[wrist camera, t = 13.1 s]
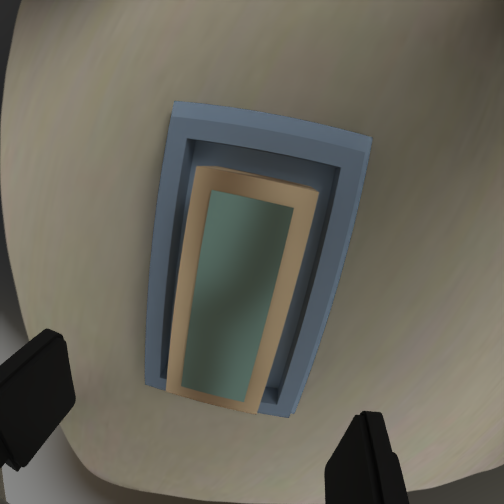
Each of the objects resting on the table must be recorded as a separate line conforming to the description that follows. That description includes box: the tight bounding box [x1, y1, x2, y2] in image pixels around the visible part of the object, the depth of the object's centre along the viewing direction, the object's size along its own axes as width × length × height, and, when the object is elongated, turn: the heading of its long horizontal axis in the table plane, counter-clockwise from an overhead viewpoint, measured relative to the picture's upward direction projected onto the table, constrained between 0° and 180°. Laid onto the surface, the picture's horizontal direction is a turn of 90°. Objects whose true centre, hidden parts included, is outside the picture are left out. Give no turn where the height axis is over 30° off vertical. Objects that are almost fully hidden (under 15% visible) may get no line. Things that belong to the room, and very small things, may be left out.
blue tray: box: [145, 101, 373, 418], centre depth 21 cm, size 13×22×3 cm, turn 169°
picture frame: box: [166, 166, 319, 414], centre depth 19 cm, size 6×14×5 cm, turn 168°
